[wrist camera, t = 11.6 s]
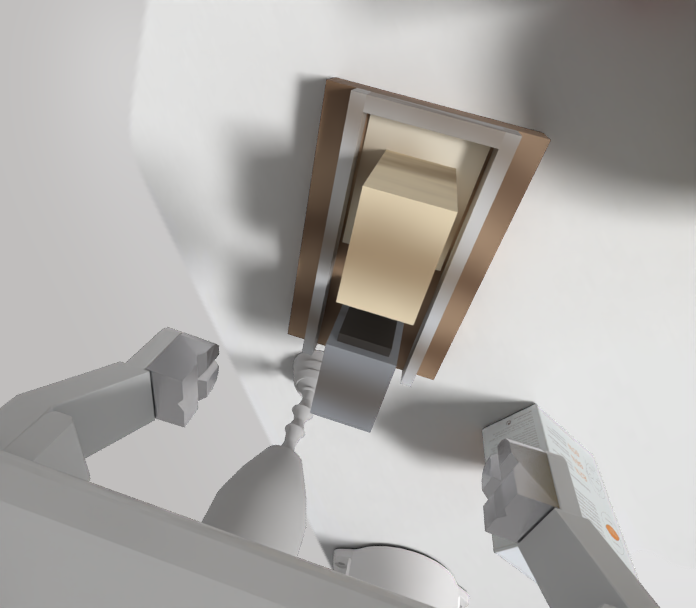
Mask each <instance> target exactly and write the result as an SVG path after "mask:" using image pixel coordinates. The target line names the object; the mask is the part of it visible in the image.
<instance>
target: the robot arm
mask: <svg viewBox="0 0 696 608" xmlns="http://www.w3.org/2000/svg"><path fill="white" fill-rule="evenodd" d="M218 355H219V346H218V345H217V344H215V343H212V342H210V341H207V340H204V339H201V338H198V337H196V336H192V335H190V334H187V333H183V332H181V331H178V330H175V329H172V328H169V327H167V328H164V329H162V330H161V331H160V332H159V333H158V334H157V335H155V336H154V337H153V338H152V339H151V340H150V341H149V342H148V343H147V344H146V345H145V346H143V348H141V349H140V350H139V351H138V352H137V353H136V354H135V355H134V356H133V357H132V358H130V360H129V361H127V362H126V363H123V362H117V363H114V364H111V365H108V366H105V367H102V368H99V369H96V370H93V371H90V372H87V373H84V374H81V375H78V376H74V377H71V378H68V379H65V380H62V381H59V382H56V383H53V384H50V385H47V386H43V387H40V388H37V389H34V390H31V391H28V392H25V393H22V394H19V395H16V396H15V397H14V398H12V399H11V400H10V401H9V402H7V403H6V404H5V405H3V406H2V407H1V408H0V608H465V607H467V606H468V605H469V599H470V596H469V594H468V593H467V592H466V591H464V590H463V589H462V588H461V587H459V586H458V585H457V583H456V581H455V579H454V577H453V575H452V574H451V573H450V572H449V571H448V570H447V569H446V568H445V567H443V566H442V565H441V564H439V563H438V562H436V561H434V560H432V559H430V558H428V557H426V556H424V555H421V554H419V553H416V552H413V551H409V550H405V549H401V548H395V547H388V546H371V547H364V548H360V549H336V550H334V555H333V570H331V569H329V568H325V567H323V566H320V565H317V564H315V563H312V562H309V561H306V560H304V559H301V558H298V557H295V556H293V555H290V554H287V553H284V552H282V551H279V550H276V549H273V548H271V547H268V546H265V545H262V544H260V543H257V542H254V541H251V540H248V539H246V538H243V537H240V536H237V535H235V534H232V533H229V532H226V531H224V530H221V529H218V528H215V527H213V526H210V525H207V524H204V523H202V522H199V521H196V520H193V519H191V518H188V517H185V516H182V515H179V514H176V513H174V512H171V511H168V510H166V509H163V508H160V507H157V506H155V505H152V504H149V503H146V502H144V501H141V500H138V499H135V498H133V497H130V496H127V495H124V494H121V493H119V492H116V491H113V490H110V489H108V488H105V487H102V486H99V485H97V484H94V483H91V482H89V481H90V474H89V470H88V467H87V464H86V461H85V458H87V457H89V456H90V455H92V454H94V453H96V452H98V451H99V450H101V449H103V448H105V447H107V446H109V445H110V444H112V443H114V442H116V441H118V440H119V439H121V438H123V437H125V436H127V435H128V434H130V433H132V432H134V431H136V430H138V429H139V428H141V427H143V426H145V425H147V424H149V423H150V422H152V421H154V420H155V418H156V419H159V420H162V421H165V422H169V423H172V424H175V425H178V426H182V427H185V426H186V425H187V423H188V422H189V421H190V419H191V418H192V417H193V415H194V414H195V413H196V411H197V410H198V401H199V400H201V399H203V398H206V397H207V396H208V395H209V393H210V392H211V390H212V389H213V386H214V384H215V382H216V380H217V375H218V369H219V366H218V364H217V363H216V361H215V359H216V358H217V356H218ZM497 448H498V453H497V454H494V455H491V456H490V457H489V458H488V460H487V462H486V463H485V466H484V469H483V473H482V491H483V492H484V494H485V495H486V497H487V499H488V501H487V502H486V503H485V505H484V506H483V510H484V523H485V531H486V532H488V533H491V534H494V535H496V536H499V537H502V538H504V539H507V540H510V541H512V542H515V543H518V545H517V546H518V548H519V550H520V552H521V554H522V555H523V557H524V559H525V561H526V563H527V565H528V567H529V569H530V571H531V573H532V575H533V576H534V578H535V580H536V582H537V584H538V586H539V588H540V590H541V592H542V594H543V595H544V597H545V599H546V601H547V603H548V605H549V607H550V608H660V607H659V606H658V604H657V603H656V602H655V601H654V599H653V598H652V597H651V596H650V595H649V593H648V592H647V591H646V590H645V589H644V587H643V586H642V585H641V583H640V582H639V581H638V580H637V578H636V577H635V576H634V575H633V573H632V572H631V571H630V570H629V568H628V567H627V566H626V565H625V564H624V562H623V561H622V560H621V559H620V557H619V556H618V555H617V554H616V552H615V551H614V550H613V549H612V547H611V546H610V545H609V544H608V542H607V541H606V540H605V539H604V537H603V536H602V535H601V534H600V533H599V531H598V530H597V529H596V528H595V526H594V525H593V524H592V523H591V521H590V520H589V519H587V518H584V517H583V516H582V513H581V509H580V506H579V502H578V499H577V495H576V492H575V489H574V485H573V482H572V478H571V475H570V471H569V468H568V465H567V461H566V460H565V458H564V457H563V456H560V455H557V454H554V453H551V452H548V451H545V450H541V449H539V448H535V447H532V446H529V445H526V444H523V443H520V442H516V441H513V440H510V439H507V438H505V439H503V440H501V442H500V443H499V444H498V446H497Z"/></svg>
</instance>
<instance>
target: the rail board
mask: <svg viewBox="0 0 696 608" xmlns="http://www.w3.org/2000/svg"><path fill="white" fill-rule="evenodd" d="M550 141H551V140H550V139H549V138H548V137H547V136H546V135H545V134H544V133H542V132H538V131H534V130H531V129H527V128H523V127H519V126H516V125H512V124H508V123H504V122H501V121H497V120H493V119H490V118H486V117H482V116H478V115H475V114H471V113H467V112H463V111H460V110H456V109H452V108H448V107H445V106H441V105H437V104H433V103H430V102H426V101H422V100H419V99H415V98H411V97H407V96H404V95H400V94H396V93H392V92H389V91H385V90H381V89H377V88H374V87H370V86H366V85H362V84H359V83H355V82H351V81H348V80H344V79H340V78H336V77H335V78H331V79H327V80H326V86H325V93H324V99H323V106H322V112H321V119H320V125H319V132H318V138H317V145H316V152H315V158H314V165H313V171H312V178H311V184H310V191H309V198H308V204H307V211H306V217H305V224H304V230H303V237H302V243H301V250H300V257H299V263H298V270H297V276H296V283H295V289H294V296H293V303H292V309H291V316H290V322H289V329H288V334H289V335H293V336H296V337H299V338H302V339H304V344H303V349H302V353H305V354H309V355H312V354H313V352H314V350H315V348H316V345H317V343H318V344H321V345H324V346H325V350H324V354H323V359H322V363H321V367H320V372H319V376H318V380H317V384H316V389H315V393H314V397H313V402H312V406H311V410H310V413H312V414H315V415H318V416H321V417H324V418H327V419H330V420H333V421H336V422H339V423H342V424H345V425H348V426H351V427H354V428H357V429H360V430H363V431H366V432H369V433H370V432H371V429H372V427H373V424H374V422H375V419H376V417H377V414H378V412H379V409H380V407H381V404H382V401H383V399H384V396H385V394H386V391H387V389H388V386H389V384H390V381H391V379H392V376H393V374H394V371H395V369H396V368H397V369H400V370H403V371H402V377H401V383H400V384H403V385H406V386H409V387H411V385H412V383H413V381H414V379H415V376H416V375H420V376H423V377H426V378H429V379H432V380H434V378H435V376H436V374H437V372H438V370H439V368H440V366H441V364H442V362H443V360H444V358H445V355H446V353H447V351H448V349H449V347H450V345H451V343H452V341H453V339H454V337H455V335H456V333H457V331H458V329H459V327H460V325H461V323H462V321H463V319H464V317H465V315H466V313H467V310H468V308H469V306H470V304H471V302H472V300H473V298H474V296H475V294H476V292H477V290H478V288H479V286H480V284H481V282H482V280H483V278H484V276H485V274H486V272H487V270H488V267H489V265H490V263H491V261H492V259H493V257H494V255H495V253H496V251H497V249H498V247H499V245H500V243H501V241H502V239H503V237H504V235H505V233H506V231H507V229H508V227H509V224H510V222H511V220H512V218H513V216H514V214H515V212H516V210H517V208H518V206H519V204H520V202H521V200H522V198H523V196H524V194H525V192H526V190H527V188H528V186H529V184H530V182H531V179H532V177H533V175H534V173H535V171H536V169H537V167H538V165H539V163H540V161H541V159H542V157H543V155H544V153H545V151H546V149H547V147H548V145H549V143H550ZM386 150H390V151H394V152H397V153H401V154H405V155H408V156H412V157H416V158H419V159H423V160H426V161H430V162H434V163H437V164H441V165H445V166H448V167H452V168H456V176H457V207H458V213H457V215H456V218H455V221H454V223H453V226H452V228H451V231H450V233H449V236H448V238H447V241H446V243H445V246H444V249H443V251H442V254H441V256H440V259H439V261H438V264H437V266H436V269H435V272H434V274H433V277H432V279H431V282H430V284H429V287H428V289H427V292H426V295H425V297H424V300H423V302H422V305H421V307H420V310H419V312H418V315H417V317H416V320H415V323H414V325H410V324H407V323H403V322H400V321H397V320H394V319H390V318H387V317H384V316H380V315H377V314H374V313H371V312H367V311H364V310H361V309H357V308H354V307H351V306H348V305H344V304H341V303H338V302H336V300H337V296H338V291H339V287H340V283H341V278H342V274H343V269H344V265H345V261H346V256H347V252H348V248H349V243H350V239H351V235H352V230H353V226H354V222H355V217H356V213H357V208H358V204H359V200H360V195H361V191H362V187H363V185H364V183H365V181H366V180H367V178H368V177H369V175H370V174H371V172H372V171H373V169H374V168H375V166H376V165H377V163H378V162H379V160H380V159H381V157H382V156H383V154H384V152H385V151H386Z"/></svg>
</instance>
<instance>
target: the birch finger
mask: <svg viewBox="0 0 696 608" xmlns="http://www.w3.org/2000/svg"><path fill="white" fill-rule="evenodd" d="M457 213H458V207H457V176H456V168H452V167H448V166H445V165H441V164H437V163H434V162H430V161H426V160H423V159H419V158H416V157H412V156H408V155H405V154H401V153H397V152H394V151H390V150H386V151H385V152H384V154H383V156H382V157H381V159H380V160H379V162H378V163H377V165H376V166H375V168H374V169H373V171H372V172H371V174H370V175H369V177H368V178H367V180H366V181H365V183H364V185H363V187H362V191H361V195H360V200H359V204H358V208H357V213H356V217H355V222H354V226H353V230H352V235H351V239H350V243H349V248H348V252H347V256H346V261H345V265H344V269H343V274H342V278H341V283H340V287H339V291H338V296H337V300H336V302H338V303H341V304H344V305H348V306H351V307H354V308H357V309H361V310H364V311H367V312H371V313H374V314H377V315H380V316H384V317H387V318H390V319H394V320H397V321H400V322H403V323H407V324H410V325H414V323H415V320H416V317H417V315H418V312H419V310H420V307H421V305H422V302H423V300H424V297H425V295H426V292H427V289H428V287H429V284H430V282H431V279H432V277H433V274H434V272H435V269H436V266H437V264H438V261H439V259H440V256H441V254H442V251H443V249H444V246H445V243H446V241H447V238H448V236H449V233H450V231H451V228H452V226H453V223H454V221H455V218H456V215H457Z"/></svg>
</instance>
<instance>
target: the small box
mask: <svg viewBox="0 0 696 608" xmlns="http://www.w3.org/2000/svg"><path fill="white" fill-rule="evenodd" d="M482 434H483V445H484V455H485V463H486V462H487V460H488V458H489V457H490V456H491V455H494V454H497V453H498V448H497V446H498V444H499V443H500V442H501V440H503V439H505V438H507V439H510V440H513V441H516V442H520V443H523V444H526V445H529V446H532V447H535V448H539V449H541V450H545V451H548V452H551V453H554V454H557V455H560V456H563V457H564V458H565V460H566V461H567V465H568V468H569V471H570V475H571V478H572V482H573V485H574V489H575V492H576V495H577V499H578V502H579V506H580V509H581V513H582V516H583V517H584V518H587V519H589V520H590V521H591V523H592V524H593V525H594V526H595V528H596V529H597V530H598V531H599V533H600V534H601V535H602V536H603V537H604V539H605V540H606V541H607V542H608V544H609V545H610V546H611V547H612V549H613V550H614V551H615V552H616V554H617V555H618V556H619V557H620V559H621V560H622V561H623V562H624V564H625V565H626V566H627V567H628V568H629V570H630V571H631V572H632V573H633V575H634V576H635V577H636V578H637V580H638V576H637V574H636V571H635V568H634V565H633V563H632V560H631V557H630V554H629V551H628V549H627V546H626V543H625V540H624V537H623V535H622V532H621V529H620V526H619V524H618V521H617V518H616V515H615V513H614V510H613V507H612V504H611V502H610V499H609V496H608V493H607V490H606V488H605V485H604V482H603V479H602V476H601V474H600V471H599V468H598V465H597V463H596V460H595V457H594V455H593V454H592V453H591V452H590V451H588V450H587V449H586V448H585V447H584V446H583V445H582V444H581V443H580V442H578V441H577V440H576V439H575V438H574V437H573V436H572V435H571V434H569V433H568V432H567V431H566V430H565V429H564V428H563V427H562V426H561V425H559V424H558V423H557V422H556V421H555V420H554V419H553V418H552V417H550V416H549V415H548V414H547V413H546V412H545V411H544V410H543V409H542V408H540V407H539V406H538V405H537V404H534V405H532V406H530V407H528V408H526V409H524V410H522V411H519V412H517V413H515V414H513V415H511V416H509V417H507V418H505V419H503V420H501V421H499V422H496V423H494V424H492V425H490V426H488V427H486V428H484V429H483V430H482ZM492 540H493V550H494V553H496V554H497V555H499V556H500V557H501V558H503V559H504V560H505V561H507V562H508V563H510V564H511V565H512V566H514V567H515V568H516V569H518V570H519V571H520V572H522V573H523V574H525V575H526V576H527V577H529V578H530V579H531V580H533V581H534V582H535V583H537V582H536V580H535V578H534V576H533V575H532V573H531V571H530V569H529V567H528V565H527V563H526V561H525V559H524V557H523V555H522V554H521V552H520V550H519V548H518V546H517V545H518V543H515V542H512V541H510V540H507V539H504V538H502V537H499V536H496V535H494V534H492ZM638 581H639V580H638Z"/></svg>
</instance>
